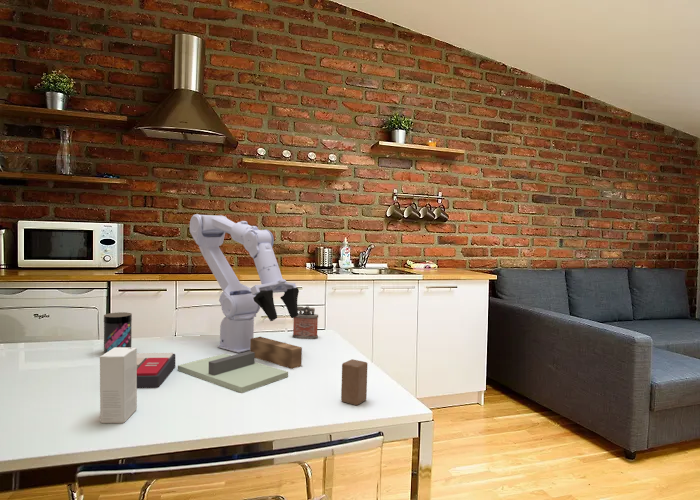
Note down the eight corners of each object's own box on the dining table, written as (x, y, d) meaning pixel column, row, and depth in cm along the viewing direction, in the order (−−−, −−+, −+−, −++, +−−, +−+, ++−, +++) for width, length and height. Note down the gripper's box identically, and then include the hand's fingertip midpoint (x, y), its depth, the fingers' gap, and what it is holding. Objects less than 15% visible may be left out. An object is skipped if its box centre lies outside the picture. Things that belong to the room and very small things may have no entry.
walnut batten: (250, 357, 124) (250, 338, 123) (259, 354, 126) (260, 336, 126) (291, 369, 114) (292, 349, 113) (301, 366, 116) (301, 347, 116)
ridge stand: (177, 370, 110) (177, 353, 110) (225, 358, 121) (225, 343, 121) (241, 393, 96) (241, 374, 96) (288, 376, 108) (288, 360, 107)
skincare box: (113, 410, 86) (113, 346, 85) (137, 409, 86) (137, 347, 86) (98, 423, 80) (98, 356, 79) (124, 423, 80) (124, 356, 80)
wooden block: (357, 406, 91) (358, 366, 91) (340, 401, 93) (341, 363, 93) (367, 400, 94) (368, 361, 94) (350, 395, 97) (351, 358, 96)
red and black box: (103, 373, 96) (128, 350, 111) (104, 393, 97) (128, 367, 112) (158, 372, 98) (175, 350, 113) (158, 392, 98) (175, 367, 113)
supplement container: (97, 356, 120) (98, 316, 119) (112, 349, 126) (112, 311, 126) (123, 357, 119) (123, 317, 119) (136, 350, 126) (136, 312, 126)
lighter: (318, 337, 147) (319, 306, 147) (316, 339, 144) (317, 308, 143) (293, 335, 148) (294, 305, 147) (291, 338, 145) (292, 306, 144)
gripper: (257, 264, 114) (273, 314, 110) (297, 263, 126) (313, 309, 122) (240, 276, 118) (255, 325, 114) (280, 274, 130) (296, 319, 126)
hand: (284, 318), depth 118 cm, fingers open, 7 cm apart
